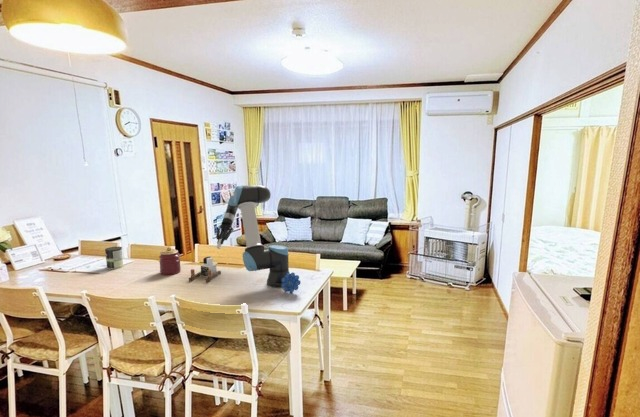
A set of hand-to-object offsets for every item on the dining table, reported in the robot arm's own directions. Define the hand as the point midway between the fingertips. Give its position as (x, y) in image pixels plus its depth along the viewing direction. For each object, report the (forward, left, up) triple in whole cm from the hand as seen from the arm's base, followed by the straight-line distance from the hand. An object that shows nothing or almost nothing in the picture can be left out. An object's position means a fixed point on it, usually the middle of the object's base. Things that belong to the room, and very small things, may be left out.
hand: (218, 247), depth 232 cm
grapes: (-71, -3, -15) cm, 72 cm away
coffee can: (+60, +47, -15) cm, 78 cm away
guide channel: (-10, +16, -15) cm, 24 cm away
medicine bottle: (-7, +12, -15) cm, 21 cm away
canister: (+18, +26, -15) cm, 35 cm away
